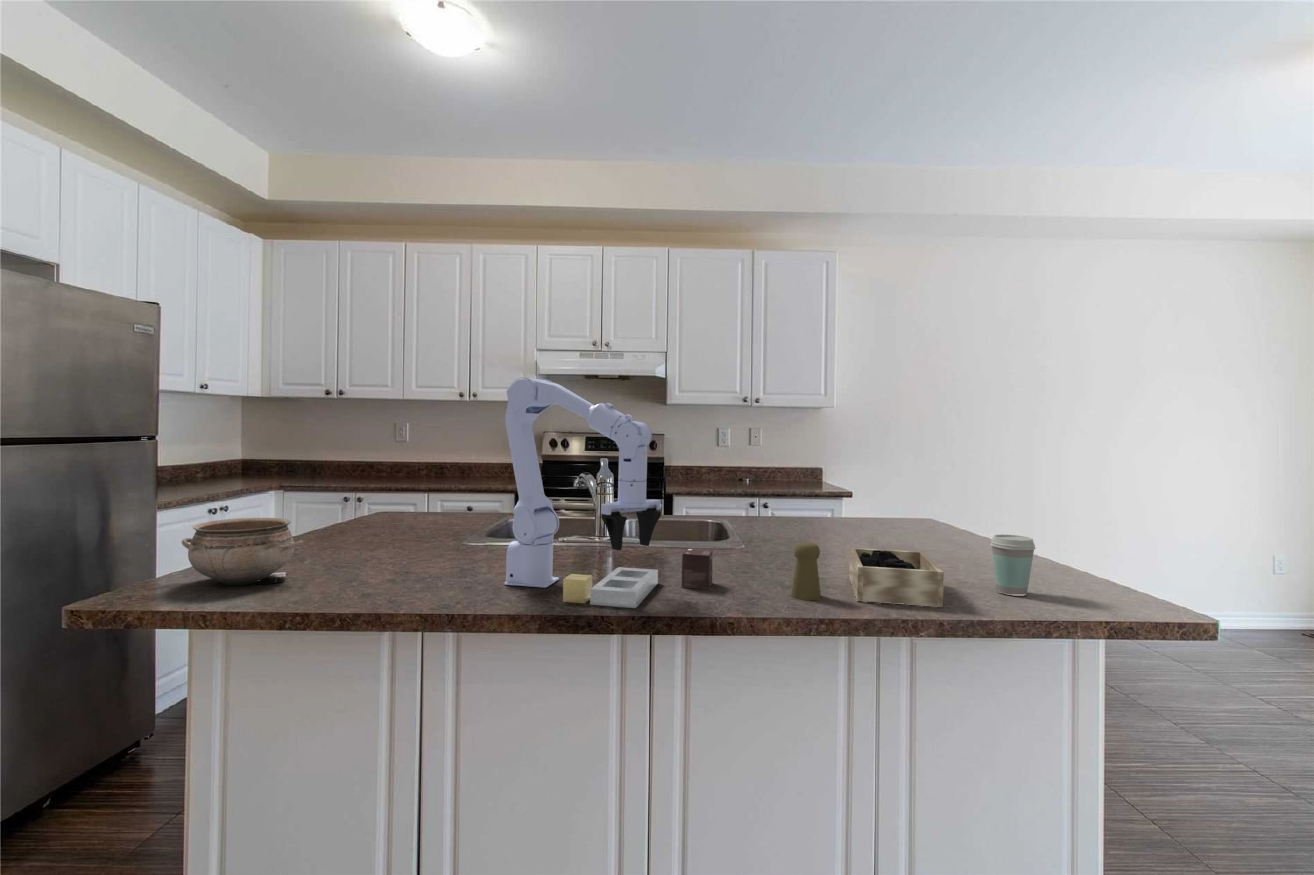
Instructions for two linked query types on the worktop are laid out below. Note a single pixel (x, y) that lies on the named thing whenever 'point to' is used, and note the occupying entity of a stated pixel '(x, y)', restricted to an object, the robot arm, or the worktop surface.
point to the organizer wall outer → (930, 565)
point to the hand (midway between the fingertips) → (630, 547)
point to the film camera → (883, 560)
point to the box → (697, 568)
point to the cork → (806, 572)
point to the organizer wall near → (900, 585)
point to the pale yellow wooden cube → (577, 588)
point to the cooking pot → (240, 548)
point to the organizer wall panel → (856, 574)
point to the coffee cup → (1012, 562)
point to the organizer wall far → (902, 555)
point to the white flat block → (624, 587)
